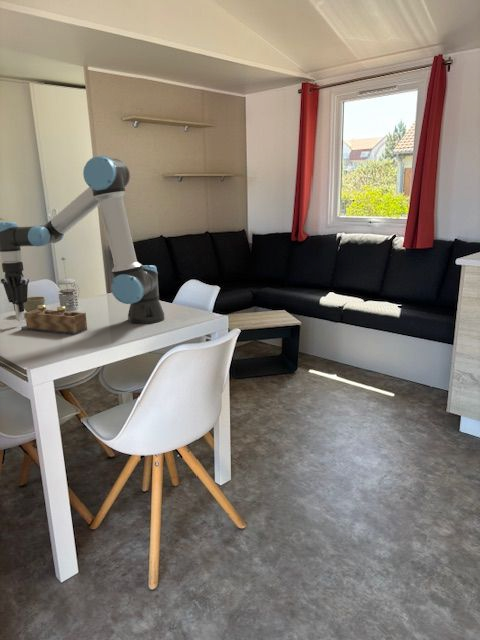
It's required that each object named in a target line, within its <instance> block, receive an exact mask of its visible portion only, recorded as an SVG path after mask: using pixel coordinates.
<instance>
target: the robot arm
mask: <svg viewBox="0 0 480 640" xmlns="http://www.w3.org/2000/svg"><path fill="white" fill-rule="evenodd" d="M130 172H131V171H130V169H129V167H128V166H127V164H126V163H124V161H122V160H120V159H118V158H112V157H108V156H106V155H102V156H93V157H91V158H90V159H89V160H88V161H87V162H86V163H85V165H84V168H83V173H82V175H83V179H84V182H85V184H86V185H87V186H88V187H87V188H86V189H85V190H84V191H82V192H81V194H79V195H78V196H77V197H75V199H74V200H72V201H71V202H69V204H68V205H66V206H65V207H64V208H63V209H62V210H60V211H59V212H58V213H56V215H54V217H52V218H51V219H50V220H49V221H47V223H45V224H43V225H34V226H18V223H17V222H16V221H2V222H1V221H0V261H1V269H2V272H3V273H4V277H3V278H1V279H0V282H1V283H2V286H3V288H4V291H5V295H6V296H7V300H8V303H11V304H12V305H13V308H14V312H15V317H16V321H22V320H26V317H25V309H24V305H23V304H24V303H25V302H27V298H28V290H29V289H28V288H29V287H28V285H29V282H30V280H29V278H25V276H24V274H23V272H24V271H25V270H24V264H23V262H22V260H23V257H22V256H23V255H22V250H21V247H45V246H48V244H49V245H50V244H57V243H59V242H61V241H62V239H63V238H64V236H65V234H67V232H69V230H71V229H73V227H75V226H76V225H77V224H78V223H80V222H81V221H82V220H83V219H84V218H86V217H87V216H88V215H89V214H90V213H92V212H93V211H94V210H95V209H96V208H98V207H100V211H101V215H102V220H103V222H104V227H105V231H106V235H107V240H108V243H109V248H110V252H111V256H112V260H113V268H111V274H112V278H113V280H112V282H111V285H110V291H111V294H112V295H113V297H114V298H115V299H116V300H117V301H118V302H120V303H122V304H124V305H125V304H127V305H129V309H128V313H127V314H128V315H127V320H128V322H129V323H131V324H138V325H139V324H140V325H141V324H142V325H143V324H154V323H159V322H161V321H163V320H165V312H164V309H163V307H162V305H161V302H160V293H159V279H158V276H159V275H158V274H159V272H158V270H157V269H158V268H157V266H156V265H155V264H154V265H152V264H151V265H149V264H148V265H147V264H146V265H143V264H142V263H140V262H139V261H138V259H137V255H136V251H135V248H134V242H133V238H132V233H131V230H130V224H129V221H128V215H127V211H126V207H125V202H124V198H123V197H124V196H125V194H126V187H127V185H128V184H129V182H130V178H131V175H130V174H131V173H130Z"/></svg>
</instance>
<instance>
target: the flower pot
mask: <svg viewBox="0 0 480 640" xmlns="http://www.w3.org/2000/svg"><path fill="white" fill-rule="evenodd" d="M45 302H46V297H44V296H29V297H28V296H27V302H25V303H24V304H23V305H24V311H25V313H26V312H30V311H33V310H37V309H38V307H37V306H38V305H45Z"/></svg>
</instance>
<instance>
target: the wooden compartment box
mask: <svg viewBox="0 0 480 640" xmlns="http://www.w3.org/2000/svg"><path fill="white" fill-rule="evenodd" d="M86 313H87V312H81V311H79V312H69V311H64V314H60V312H58V311H57V310H54V309H45V310H44V313H41V312H40V310H38V309H37V310H33V311H30V312H26V311H25V312H24V317H25V324H26V326H27V328H36V329H46V330H55V331H65V332H74V333H75V332H77V331H80V330H83V329H85V328H87V329H88V323H87V322H88V321H87V314H86Z"/></svg>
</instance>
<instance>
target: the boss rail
mask: <svg viewBox="0 0 480 640" xmlns="http://www.w3.org/2000/svg"><path fill="white" fill-rule="evenodd" d="M37 307H38V310H40V312H41V313H44V310H47V305H46V304H44V305H38V306H37ZM56 309H57V311H58V312H60V314H64V311H66V308H65V306H57V307H56ZM20 328H21V330H22V331H32V332H38V333H39V332H41V333H49V334H58V335H60V334H61V335H66V336H67V335H69V336H75V335H78V334H80V333H82V331H83V332H85V331H87V330H88V327H87V328H85V329H83V330H80V331H77V332H75V333H74V332H65V331H55V330H46V329H36V328H27V325H24V326H21V327H20Z"/></svg>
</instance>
